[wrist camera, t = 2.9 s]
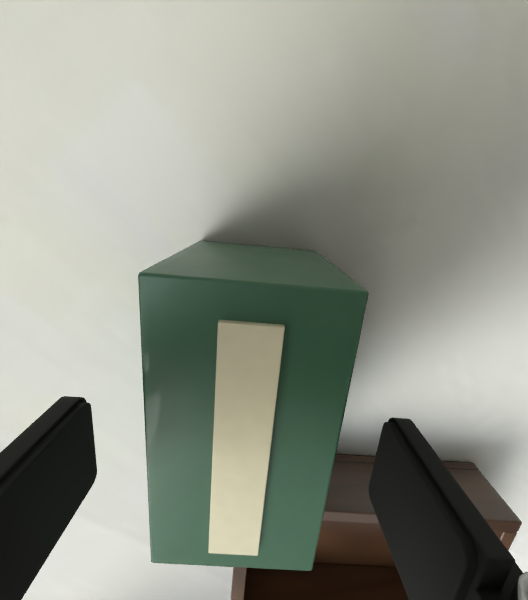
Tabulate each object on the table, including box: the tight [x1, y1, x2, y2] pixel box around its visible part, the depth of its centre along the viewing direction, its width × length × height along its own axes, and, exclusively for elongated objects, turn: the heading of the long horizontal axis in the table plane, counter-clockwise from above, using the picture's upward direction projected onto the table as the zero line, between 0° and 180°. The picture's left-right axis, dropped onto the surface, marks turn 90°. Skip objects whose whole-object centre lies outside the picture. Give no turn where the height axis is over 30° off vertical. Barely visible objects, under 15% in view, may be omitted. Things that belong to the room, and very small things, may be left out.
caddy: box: [231, 454, 522, 600], centre depth 17 cm, size 9×14×4 cm
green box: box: [138, 241, 368, 571], centre depth 12 cm, size 10×6×7 cm, turn 175°
